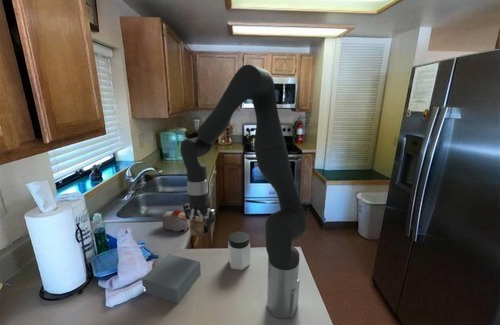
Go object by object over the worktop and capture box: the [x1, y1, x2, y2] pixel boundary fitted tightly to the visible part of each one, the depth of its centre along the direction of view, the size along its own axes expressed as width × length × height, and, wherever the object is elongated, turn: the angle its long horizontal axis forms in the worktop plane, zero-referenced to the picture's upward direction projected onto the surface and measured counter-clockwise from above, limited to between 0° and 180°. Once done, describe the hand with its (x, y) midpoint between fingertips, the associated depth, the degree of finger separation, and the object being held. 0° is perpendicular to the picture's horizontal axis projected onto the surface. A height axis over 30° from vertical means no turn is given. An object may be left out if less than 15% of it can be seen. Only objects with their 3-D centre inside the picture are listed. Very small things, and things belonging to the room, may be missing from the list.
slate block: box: [141, 253, 202, 305], centre depth 84 cm, size 14×14×6 cm
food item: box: [161, 209, 190, 232], centre depth 119 cm, size 14×8×10 cm, turn 83°
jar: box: [227, 231, 251, 271], centre depth 93 cm, size 9×8×12 cm
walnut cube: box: [189, 216, 211, 239], centre depth 91 cm, size 6×6×6 cm
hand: (200, 231), depth 92 cm, fingers closed on walnut cube, 5 cm apart
